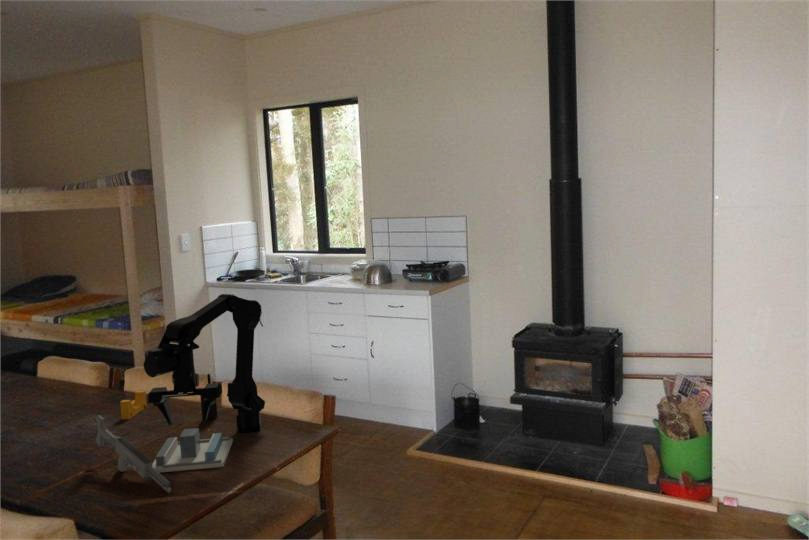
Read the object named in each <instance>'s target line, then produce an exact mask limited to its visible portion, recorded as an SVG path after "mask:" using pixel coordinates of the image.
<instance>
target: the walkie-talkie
mask: <svg viewBox="0 0 809 540" xmlns="http://www.w3.org/2000/svg"><path fill="white" fill-rule="evenodd" d="M207 384H212V383H211V374H210V373H207ZM199 396H200V407H201V409H200V410H201V418H202V419H201V421H202V422H204V419H203V400H204V399H205V397H204V395H199ZM217 418H218V407H217V398H216V399H215V401H213V402H211V405H210V408H209V412H208V416H207V420H206V422H208V423H210V422H212V421H214V420H216V419H217ZM206 422H205V423H206Z"/></svg>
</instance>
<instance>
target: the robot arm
mask: <svg viewBox="0 0 809 540" xmlns="http://www.w3.org/2000/svg"><path fill="white" fill-rule="evenodd" d="M226 312H230V313H232V314H231V315H232V321H233V323H234V325H235V327H236V329H237V335H236V355H235V356H236V357H235V359H236V360H235V375H234V378H233V380H232V381H231V382H228V383H227V393H226V397H227V399H228V402H229V403H230V404H231V407H232V409H233V410H237V413H236V416H235V417H236V418H235V420H236V421H235V422H236V429H237V432H238V433H250V432H251V433H252V432H260V431H261V428H262V425H263V424H262V421H261V412H262V410H263V409H265V405H266V401H265V400H264V399H263V398H262V397H260V396H259V395H258V386H257V384H256V382H255V380H254V377H253V371H254V370H253V368H254V345H255V344H254V343H255V342H254V341H255V329H256V328H257V326H258V324H259V322H260V320H261V315H262V306H261V304H260V302H259V301H258V300H256V299H255V300H254V299H246V298H242V297H239V296H237V295H234V294H233V293H231V294H229V293H221V294H219V295H218V296H217V297H216V298H215V299H214V300H212V301H210V302H209V303H208V304H205V305H204V306H203V307H201V308H200V309H199V310H197V311H195V312H194V313H192V314H191V315H189V316H185V317H181V318H177V319H176V320H173V321H171V322H169V323H168V324H167V325H166V327H165V330H164V334H163V336H162V338H161V340H160V341H159V344H158V345H157V349H154V350H153V349H152V350H151V349H150V350H148V351H147V356H146V357H145V358H144V362H143V369H144V372H145V373H146V375H147V376H148V377H149V378H156V377H159V376H162V375H166V374H168V373H171V372H172V374H171V378H172V379H171V381H172V384H173V389H171V390H168V388H167V386H162V387H153V388H152V389H151V390H150V391H149V393H147V396H146V401H147V403H148V404H152V406H153V407H157V408H158V410H159V411H160V412H161V413H162V415H163V417H164V418H165V421H167V424H168V426H172V424H173V423H172V415H171V409H170V398H179V397H182V398H183V397H189V396H190V397H195V396H200V395H204V397H205V399H204V400H203V419H204V421H203V422H204V423H206V420H207V416H208V412H209V408H210V405H211V402H213V401H215V399H216V400H217V399H219V398H220V397H221V395H222V393H223V387H222V384H221V383H220V382H214V383H211V384H208V383H206V384H205V386H204V387H199V386H200V375H199V374H198V373H196V368H195V359H194V350H197V349H199V348H200V345H199V344H197V343H195V340H196V339H197V338H198V337H199V336H200V334H201V332H202V330H203V329H204V328H205V327H206V326H208V325H209V324H210V323H212V322H214V321H215V320H216V319H217V318H219V317H220V316H223V314H225V313H226ZM197 387H198V388H197Z"/></svg>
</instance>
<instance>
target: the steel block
mask: <svg viewBox="0 0 809 540" xmlns="http://www.w3.org/2000/svg"><path fill="white" fill-rule="evenodd" d="M200 440H201V437H200V428H199V427H197V428H184V429H183V430H182V432H181V434H180V436H179V441H180V449H181V458H190V457H197V455H198V453H199V451H200V449H201V448H200Z"/></svg>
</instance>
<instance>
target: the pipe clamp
mask: <svg viewBox="0 0 809 540" xmlns="http://www.w3.org/2000/svg"><path fill="white" fill-rule="evenodd" d="M134 395H135V398H134V399H133V400H131V399H122V400H121V401H119V403H120V405H119V406H120V414H121V420H130V419H133V417H134V416H136V415H137V414H138V413H139V412H141V411H142V410H144V409H145V408H146V407H148V406H147V405H148V404H147V396H146V395H147V393H146V390H137V391H135V394H134Z"/></svg>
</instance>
